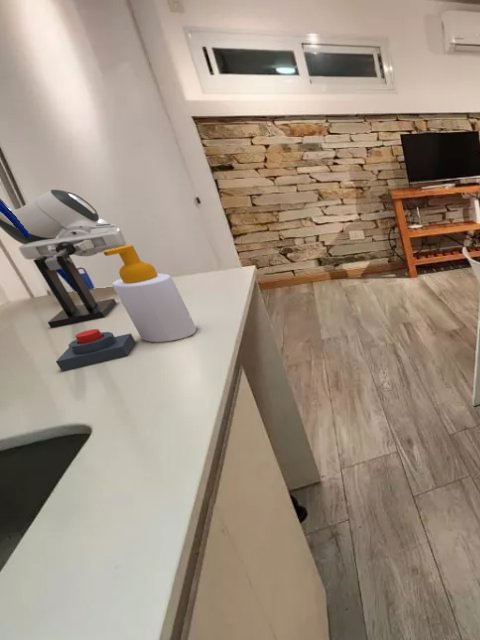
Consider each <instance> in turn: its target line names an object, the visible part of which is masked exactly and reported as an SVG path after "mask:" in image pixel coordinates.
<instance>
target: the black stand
mask: <svg viewBox="0 0 480 640" xmlns="http://www.w3.org/2000/svg"><path fill="white" fill-rule="evenodd" d="M47 258H48V257H46V256H40V257H38V258H37V259H32V260H33V263H34V264H35V265H36V268H37V269H38V271H39V272H40V274H41V275H42V277H43V279H44V280H45V283H46V284H47V285H48V287H49V289H50V291H51V292H52V293H53V295H54V297H55V298H56V300H57V301H58V303H59V305H60V306H61V308H62V309H61V311H59V312H58V313H57V314H56V315H55V316H53V318H51V319H50V320H48V321H47V324H48V326H49V327H50V328H51V329H53V328H57V327H58V328H59V327H63V326H68V325H73V324H78V323H84V322H88V321H92V320H97V319H98V320H99V319H103V318H106V317H107V315H108V314H109V313H110V311H111V310H112V309H113V308H114V307H115V306H116V305H117V301H116V300H115V298H109V299H104V300H99V301H96V299H95V297H94V296H93V294H92V293H91V291H90V288H89V287H88V285H87V284H86V282H85V280H84V278H83V277H82V275H81V273H80V272H79V270H78V268H77V267H76V264H75V263H74V261H73V259H72V257H71V255H69V254H68V252H66V253H62V254H60V255H58V256H57V257H56V258H57V259H58V261H59V263H60V265H61V266H62V270H63V271H64V273H65V275H66V276H67V279H68V280H69V282H70V283H71V285H72V287H73V289H74V290H75V292H76V293H77V295H78V297H79V298H80V300H81V302H82V304H78V305H76V303H75V302H74V301H73V299H72V296H71V295H70V294H69V292H68V290H67V289H66V287H65V285H64V284H63V282H62V280H61V279H60V277H59V275H58V274H57V272H56V270H51V271H50V269H49V268H48V266H47V265H46V264H45V260H46V259H47Z"/></svg>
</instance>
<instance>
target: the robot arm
mask: <svg viewBox="0 0 480 640" xmlns="http://www.w3.org/2000/svg"><path fill="white" fill-rule="evenodd" d="M5 206H6V207H7V208H8V209H9V210H10V211H12V213H13V214H14V215H15V216H16V217H17V219H18V220H19V221H20V223H21V224H22V225H23V226H24V228H25V229H26V230H27V231H28V233H29V235H30V238H28V239H27V238H26V237H25V236H24V235H23V234H22V232H21V231H20V230H19V229H18V228H16V227H15V226H14V225H13V223H12V222H11V221H10V220H9V219H8V218H7V217H6V216H5V215H4V214H3V213H0V228H1V229H2V230H3V231H4V232H5V233H6V234H7V235H8V236H9V237H11V238H12V239H13V240H15V241H17V242H18V243H20V244H22V245H20V246H18V250H19V252H20V254H21V255H22V256H23V258H24V259H25V260H35V259H37V258H38V257H40V256H46V257H47V258H50V257H55V256H56V255H57V254H58V251H57V249H56V246H57V244H59V243H60V242H70V243H73V244H74V245H73V246H74V248H75V250H76V253H75V254H73V256H77V257H92V256H95V255H97V254H98V253H99V254H101V253H103V252H104V251H107V250H111V249H114V248H118V247H121V246H127V241H126V238H125V236H124V235H123V233H122V231H121V229H120V228H119V226H118V225H117V224H116V223H110V222H108V221H106V220H105V219H102V218H100V217H99V214H98V211H97V210H96V209H95V208H94V207H93V206H92V205H91V203H89V202H88V201H87V200H85V199H84V198H82V197H81V196H80V195H78V194H75V193H73V192H70V191H66V190H62V189H51V190H49V191H47V192H45V193H43V194H41V195H40V196H38V197H36V198H34V200H32V201H30V202H28V203H26V204H24V205H23V206H20V207H19V208H17V209H13V208H10V207H8V206H7V205H5Z"/></svg>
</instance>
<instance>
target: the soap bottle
mask: <svg viewBox="0 0 480 640" xmlns="http://www.w3.org/2000/svg"><path fill="white" fill-rule="evenodd" d="M102 253H103V255H104V256H106V257H107V256H113V255H117V254H118V255H119V256H120V259H121V260H122V263H123V265H122V266H121V267H120V268H119V272H118V274H119V277H120V278H119V279H117V280H116V279H115V280H114V281H113V282H112V284H111V285H112V287H113V289H114V291H115V293H116V295H117V296H118V298H119V300H120V302H121V304H122V305H123V307H124V309H125V312H126V313H127V314H128V317H129V318H130V320H131V322H132V324H133V326H134V327H135V329H136V331H137V333H138V335H139V336H140V338H141V339H142V340H143V341H146V342H152V343H162V342H172V341H177V340H182V339H185V338H188V337H190V336H192V335H194V334H195V333H196V331H197V326H196V325H195V322H194V321H193V318H192V317H191V314H190V312H189V310H188V308H187V306H186V304H185V301H184V300H183V298H182V296H181V293H180V292H179V290H178V287H177V286H176V283H175V281H174V279H173V278H172V277H171V276H170V275H169V274H166V273H158V272H157V270H156V268H155V267H154V265H153V264H151V263H150V262H144V261H142V260H141V258H140V257H139V255H138V253H137V250H136V249H135V247H134V245H132V244H126V245H125V246H121V247H118V248H113V249H108V250H105V251H103V252H102Z"/></svg>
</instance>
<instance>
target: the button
mask: <svg viewBox="0 0 480 640" xmlns="http://www.w3.org/2000/svg"><path fill="white" fill-rule="evenodd" d="M74 337H75V340H78V342H79V344H83V343H88V342H92V341H95V340H98V339H100V338H102V337H103V336H102V334H101V331H100V329H98V328H92V329H87V330H83V331H81V332H79V333H76V334H75V335H74Z"/></svg>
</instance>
